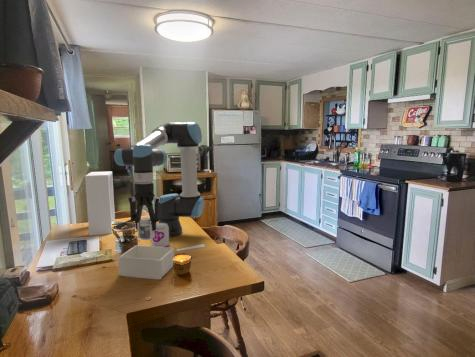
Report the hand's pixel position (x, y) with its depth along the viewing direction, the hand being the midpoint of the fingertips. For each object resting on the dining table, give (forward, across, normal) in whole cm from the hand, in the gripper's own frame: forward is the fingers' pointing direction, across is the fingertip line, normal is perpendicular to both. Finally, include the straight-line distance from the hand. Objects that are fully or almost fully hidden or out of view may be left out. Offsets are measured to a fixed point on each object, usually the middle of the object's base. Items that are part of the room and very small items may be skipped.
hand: (146, 237), depth 126 cm
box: (+15, -56, +50) cm, 77 cm away
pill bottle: (+1, 0, 0) cm, 1 cm away
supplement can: (+15, -2, +17) cm, 23 cm away
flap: (+5, 0, -10) cm, 11 cm away
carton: (+15, 0, 0) cm, 15 cm away
